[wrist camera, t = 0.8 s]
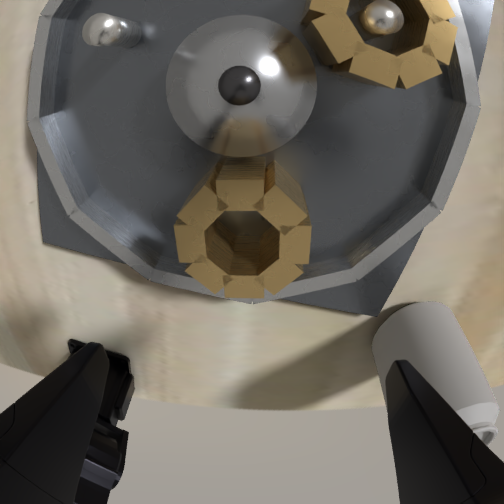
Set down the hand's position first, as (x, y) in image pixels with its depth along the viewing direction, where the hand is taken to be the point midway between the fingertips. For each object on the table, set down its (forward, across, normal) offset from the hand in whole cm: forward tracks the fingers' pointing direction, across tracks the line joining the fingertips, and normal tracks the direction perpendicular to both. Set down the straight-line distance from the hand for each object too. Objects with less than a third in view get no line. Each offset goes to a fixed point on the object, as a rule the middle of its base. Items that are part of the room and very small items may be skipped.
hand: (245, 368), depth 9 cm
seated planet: (+11, -5, -11) cm, 16 cm away
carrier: (+12, +1, -7) cm, 14 cm away
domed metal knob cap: (+11, +1, -7) cm, 13 cm away
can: (+12, -13, +10) cm, 20 cm away
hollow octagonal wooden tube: (+11, +1, 0) cm, 11 cm away
